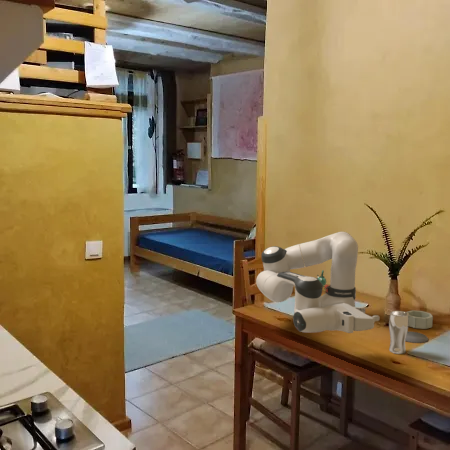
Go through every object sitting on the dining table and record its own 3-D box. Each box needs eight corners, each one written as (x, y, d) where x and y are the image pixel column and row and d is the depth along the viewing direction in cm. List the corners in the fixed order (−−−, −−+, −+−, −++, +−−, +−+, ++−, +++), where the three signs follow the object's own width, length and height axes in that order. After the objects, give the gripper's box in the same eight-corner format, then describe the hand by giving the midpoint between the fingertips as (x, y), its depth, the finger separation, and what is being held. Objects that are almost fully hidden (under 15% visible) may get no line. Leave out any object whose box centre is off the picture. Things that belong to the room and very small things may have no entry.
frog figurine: (342, 297, 264) (340, 270, 262) (309, 302, 263) (307, 275, 260) (337, 292, 274) (334, 266, 271) (304, 296, 272) (302, 270, 270)
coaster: (399, 341, 202) (399, 340, 202) (395, 331, 214) (395, 330, 214) (430, 343, 200) (430, 343, 200) (425, 333, 211) (425, 332, 211)
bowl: (407, 328, 217) (408, 317, 216) (404, 320, 227) (404, 309, 227) (433, 330, 215) (434, 319, 214) (428, 322, 225) (429, 311, 224)
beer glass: (396, 355, 188) (398, 317, 186) (383, 349, 194) (385, 311, 192) (410, 352, 191) (413, 314, 189) (397, 346, 197) (399, 309, 195)
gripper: (324, 316, 193) (356, 313, 197) (351, 335, 174) (386, 330, 177) (324, 301, 192) (356, 297, 196) (352, 317, 173) (387, 313, 176)
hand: (371, 313), depth 187 cm, fingers open, 8 cm apart
